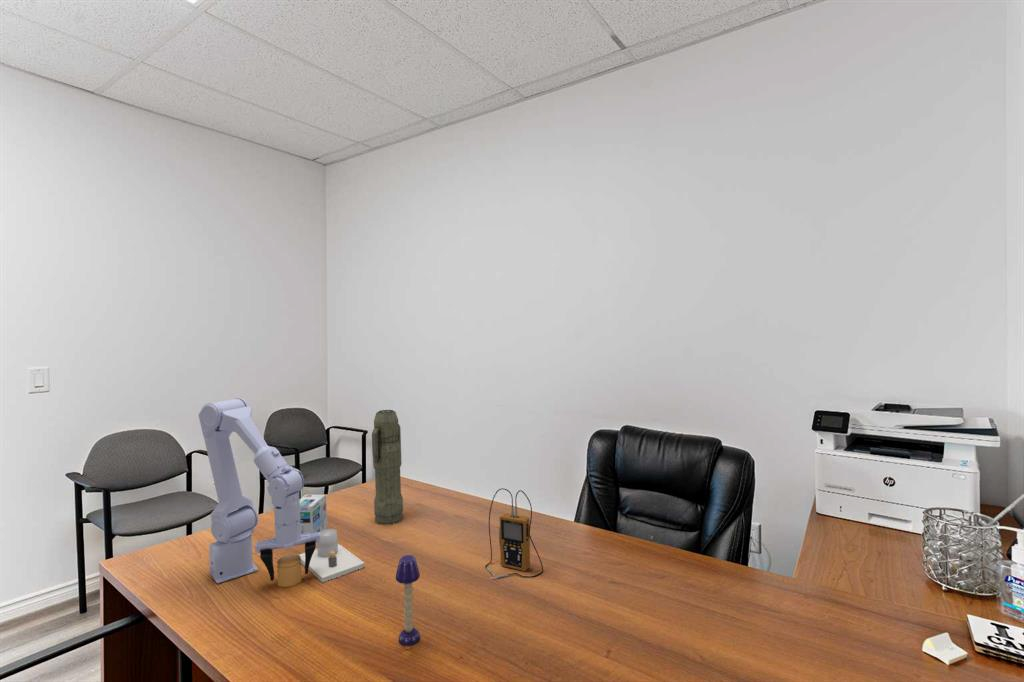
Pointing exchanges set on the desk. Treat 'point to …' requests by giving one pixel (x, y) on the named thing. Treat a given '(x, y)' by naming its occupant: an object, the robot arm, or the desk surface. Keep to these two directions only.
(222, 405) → the robot arm
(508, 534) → the multimeter
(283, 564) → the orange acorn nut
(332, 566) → the plate
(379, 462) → the thermos
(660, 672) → the desk surface
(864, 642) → the desk surface
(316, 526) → the light bulb box
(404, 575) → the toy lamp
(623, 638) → the desk surface
